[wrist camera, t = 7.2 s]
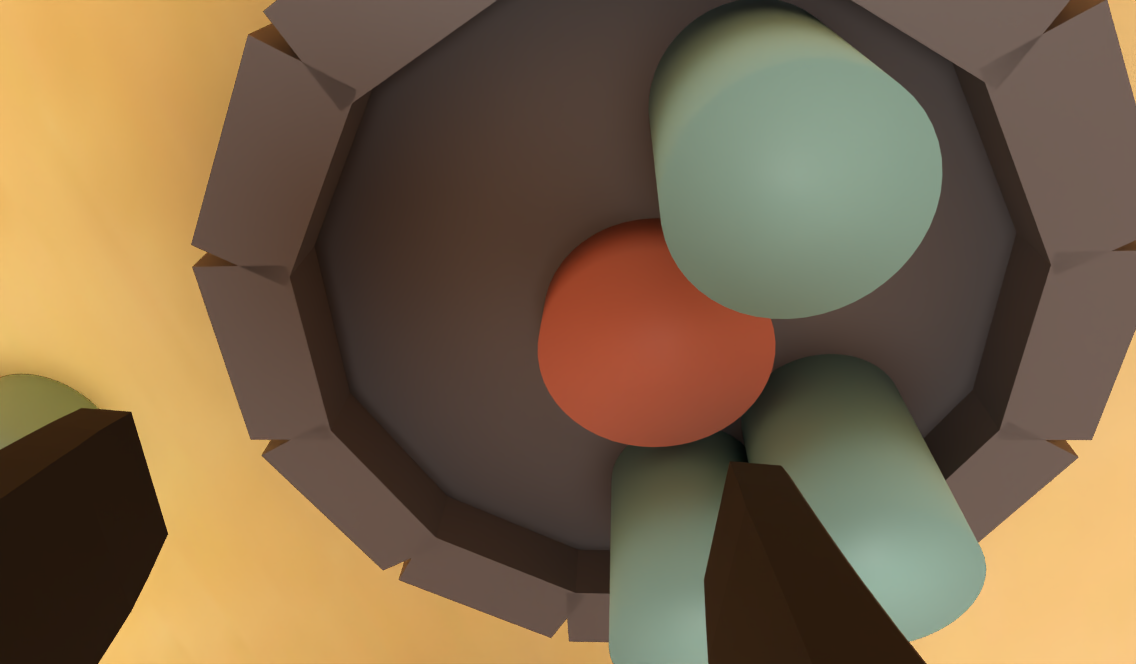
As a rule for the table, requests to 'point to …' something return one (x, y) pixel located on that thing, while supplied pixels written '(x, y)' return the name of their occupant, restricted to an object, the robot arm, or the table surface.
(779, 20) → the grey green cylinder
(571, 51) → the ring tray
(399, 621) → the table surface
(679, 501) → the pale green cylinder
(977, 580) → the bead
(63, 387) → the bead
